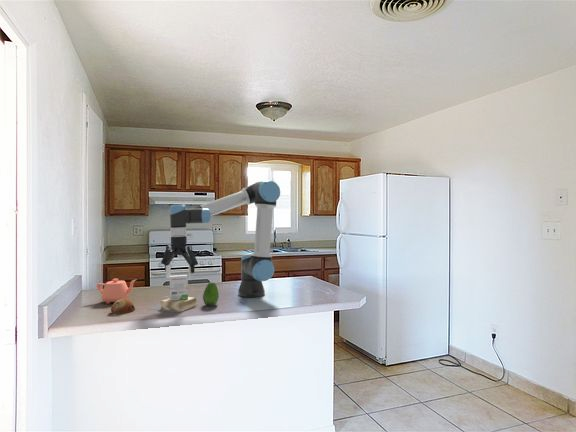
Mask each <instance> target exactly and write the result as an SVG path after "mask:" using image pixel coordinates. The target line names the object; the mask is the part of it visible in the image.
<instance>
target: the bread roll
mask: <svg viewBox="0 0 576 432" xmlns="http://www.w3.org/2000/svg"><path fill="white" fill-rule="evenodd" d="M135 310H136V305H135V303H133V302H132V301H131V300H129V299H120V300H118V301H116V302H113V304H112V305H111V308H110V312H111V314H112V315H117V314H118V315H119V314H128V313H132V312H134V311H135Z"/></svg>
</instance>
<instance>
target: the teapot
mask: <svg viewBox="0 0 576 432" xmlns="http://www.w3.org/2000/svg"><path fill="white" fill-rule="evenodd" d="M137 280H138V279H132V280H131V281H130V283H129V287H128V285H127V283H126V281H125V280H119V278H113V279H112V280H110V281H107V282H105V283H102V282H100V283H96V288H97V290H98V291H99V292H100V294H101V299H102V301H103V302H105V304H107V305H110V304H111V303H115V302H116V301H118V300H120V299H126V300H128V297H129V295H130V294H131V293H132V291H133V289H134V283H135V282H136V281H137ZM102 286H103V289H102Z"/></svg>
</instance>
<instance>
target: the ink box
mask: <svg viewBox="0 0 576 432" xmlns="http://www.w3.org/2000/svg"><path fill="white" fill-rule="evenodd" d="M188 297H189V275H187V274H179V275H171V276H170V278H169V298H170V301H174V300H187V299H188Z"/></svg>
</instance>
